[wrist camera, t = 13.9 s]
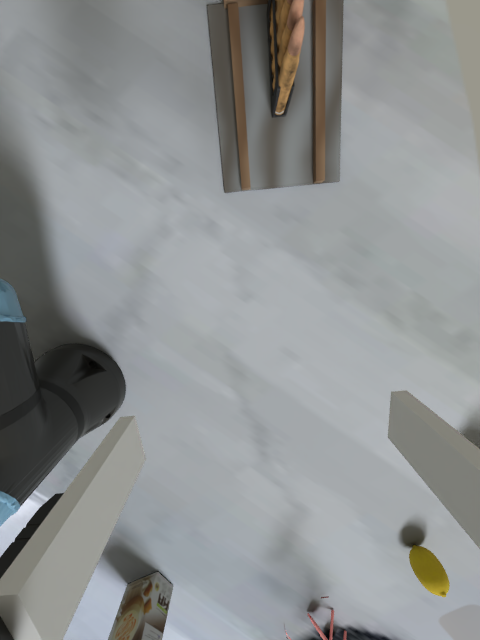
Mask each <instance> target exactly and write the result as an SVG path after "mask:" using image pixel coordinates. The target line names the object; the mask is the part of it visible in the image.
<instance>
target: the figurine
mask: <svg viewBox="0 0 480 640" xmlns="http://www.w3.org/2000/svg"><path fill="white" fill-rule="evenodd" d="M321 598H328V597H321ZM308 616H309V618H310V620H311V621H312V623H313V624H314V626H315V628H316V629H317V631H318V632H319V634H320V635H321V637H322V638H323V640H327V638H326V637H325V635H324V634H323V632H322V631H321V629H320V628H319V626H318V625H317V624H316V622H315V621H314V620H313V618H312V617H311V616H310V615H309V613H308ZM311 618H312V619H311ZM333 618H334V610H332V611H331V624H330V637H329V640H332V632H333ZM286 634H287V633H286ZM287 636H288V635H287ZM286 638H287V637H286ZM287 639H288V638H287ZM289 639H290V638H289ZM290 640H291V639H290ZM344 640H346V631H345V630H344Z"/></svg>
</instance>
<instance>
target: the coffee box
mask: <svg viewBox="0 0 480 640" xmlns="http://www.w3.org/2000/svg"><path fill="white" fill-rule="evenodd" d="M172 590H173V585H172V584H171V583H169V582H168V581H167V580H166V579H165V578H164V577H163V576H162V575H161V574H160V573H159V572H155V573H153V574H151V575H148V576H146V577H144V578H141V579H139V580H136V581H134V582H132V583H129V584H128V585H127V587H126V590H125V593H124V596H123V598H122V601H121V604H120V607H119V610H118V613H117V616H116V618H115V621H114V624H113V627H112V630H111V633H110V635H109V638H108V640H162V637H163V632H164V627H165V623H166V618H167V613H168V609H169V604H170V599H171V595H172Z"/></svg>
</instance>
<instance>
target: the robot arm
mask: <svg viewBox="0 0 480 640" xmlns="http://www.w3.org/2000/svg"><path fill="white" fill-rule="evenodd" d="M25 322H27V321H26V317H25V316H23V314H22V310H21V307H20V304H19V301H18V298H17V295H16V292H15V290H14V288H13V287H12V286H11V285H10V284H9V283H8V282H6V281H5V280H3V279H0V526H1V525H2V524H3V523H4V522H5V521H6V520H7V519H8V518H9V517H10V516H11V515H13V514H14V513H16V512H17V511H18V509H19V508H20V506H21V505H22V504H23V503H24V502H25V501H26V499H27V498H28V497H29V496H30V495H31V494H32V492H33V491H34V490H35V489H36V488H37V487H38V485H39V484H40V483H41V482H42V481H43V480H44V478H45V477H46V476H47V475H48V474H49V473H50V472H51V470H52V469H53V468H54V467H55V466H56V465H57V463H58V462H59V461H60V460H61V459H62V458H63V456H64V455H65V454H66V453H67V452H68V451H69V449H70V448H71V447H72V446H73V445H74V444H75V443H76V441H77V440H78V439H79V438H81V437H82V436H84V435H86V434H87V433H89V432H91V431H92V430H94V429H96V428H97V427H99V426H101V425H102V424H104V423H105V422H107V421H108V420H109V419H110V418H111V417H112V416H113V415H114V414H115V413H116V412H117V410H118V409H119V408H120V406H121V405H122V403H123V401H124V398H125V391H126V387H125V381H124V378H123V375H122V373H121V371H120V369H119V368H118V366H117V365H116V364H115V362H114V361H113V360H112V359H111V358H110V357H108V356H107V355H106V354H104V353H103V352H101V351H99V350H97V349H95V348H93V347H90V346H86V345H81V344H67V345H63V346H59V347H57V348H55V349H53V350H51V351H49V352H47V353H45V354H43V355H42V356H41V357H39V358H38V359H37V360H36V361H35V362H34V359H33V355H32V351H31V347H30V343H29V339H28V334H27V330H26V325H25ZM388 438H389V439H390V441H391V442H392V443H393V444H394V445H395V447H396V448H397V449H398V450H399V451H400V453H401V454H402V455H403V456H404V458H405V459H406V460H407V461H408V462H409V464H410V465H411V466H412V467H413V468H414V470H415V471H416V472H417V473H418V475H419V476H420V477H421V478H422V479H423V481H424V482H425V483H426V484H427V485H428V487H429V488H430V489H431V490H432V492H433V493H434V494H435V495H436V496H437V498H438V499H439V500H440V501H441V502H442V504H443V505H444V506H445V507H446V509H447V510H448V511H449V512H450V513H451V515H452V516H453V517H454V518H455V519H456V521H457V522H458V523H459V524H460V525H461V527H462V528H463V529H464V530H465V532H466V533H467V534H468V535H469V536H470V538H471V539H472V540H473V541H474V542H475V544H476V545H477V546H478V547H479V549H480V449H479V448H478V447H477V446H475V445H474V444H473V443H472V442H470V441H469V440H468V439H467V438H465V437H464V436H463V435H462V434H460V433H459V432H458V431H457V430H455V429H454V428H453V427H452V426H450V425H449V424H448V423H447V422H445V421H444V420H443V419H442V418H440V417H439V416H438V415H437V414H435V413H434V412H433V411H432V410H430V409H429V408H428V407H427V406H425V405H424V404H423V403H422V402H420V401H419V400H418V399H417V398H415V397H414V396H413V395H411V394H410V393H409V392H408V391H396V392H391V401H390V415H389V429H388ZM145 460H146V457H145V453H144V450H143V446H142V442H141V438H140V434H139V430H138V426H137V422H136V419H135V416H128V417H120V418H119V420H118V421H117V422H116V424H115V425H114V426H113V428H112V429H111V430H110V432H109V433H108V434H107V436H106V437H105V438H104V440H103V441H102V443H101V444H100V445H99V447H98V448H97V449H96V451H95V452H94V453H93V455H92V456H91V457H90V459H89V460H88V461H87V463H86V464H85V465H84V467H83V468H82V469H81V471H80V472H79V474H78V475H77V476H76V478H75V479H74V480H73V482H72V483H71V484H70V486H69V487H68V488H67V490H66V491H65V492H64V493H61V494H55V495H54V496H53V497H52V498H50V499H49V500H48V501H47V502H46V503H45V504H44V505H42V506H41V507H40V508H39V509H38V511H37V512H36V513H35V514H34V516H33V517H32V518H31V519H30V521H29V522H28V523H27V524H26V527H25V528H23V530H22V531H21V532H20V533H19V535H18V536H17V537H16V538H15V541H14V542H12V543H11V545H10V546H9V547H8V548H7V550H6V551H5V552H4V553H3V555H2V556H1V557H0V640H63V637H64V635H65V633H66V631H67V629H68V627H69V624H70V622H71V620H72V618H73V616H74V614H75V611H76V609H77V607H78V605H79V603H80V601H81V598H82V596H83V594H84V592H85V590H86V588H87V585H88V583H89V581H90V579H91V577H92V575H93V572H94V570H95V568H96V566H97V564H98V562H99V559H100V557H101V555H102V553H103V551H104V549H105V546H106V544H107V542H108V540H109V538H110V536H111V533H112V531H113V529H114V527H115V525H116V523H117V520H118V518H119V516H120V514H121V512H122V510H123V507H124V505H125V503H126V501H127V499H128V497H129V494H130V492H131V490H132V488H133V486H134V484H135V481H136V479H137V477H138V475H139V473H140V471H141V468H142V466H143V464H144V462H145Z"/></svg>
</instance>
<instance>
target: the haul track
mask: <svg viewBox="0 0 480 640" xmlns="http://www.w3.org/2000/svg"><path fill="white" fill-rule="evenodd" d="M267 5H268V0H224V3H222V4H213V5H207V9H208V20H209V31H210V41H211V52H212V63H213V73H214V84H215V95H216V105H217V116H218V126H219V137H220V148H221V158H222V169H223V180H224V190H225V193H228V192H239V191H249V190H259V189H270V188H280V187H290V186H300V185H311V184H321V183H331V182H339V181H340V138H341V90H342V42H343V0H304V7H303V14H302V16H303V17H304V22H305V29H304V37H303V42H302V46H301V51H300V55H299V64H298V68H297V71H296V75H295V78H294V83H295V87H294V90H293V94H292V97H291V101H290V104H289V107H288V111H287V114H286V116H284V117H275V118H272V112H271V92H270V72H269V53H268V33H267Z"/></svg>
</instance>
